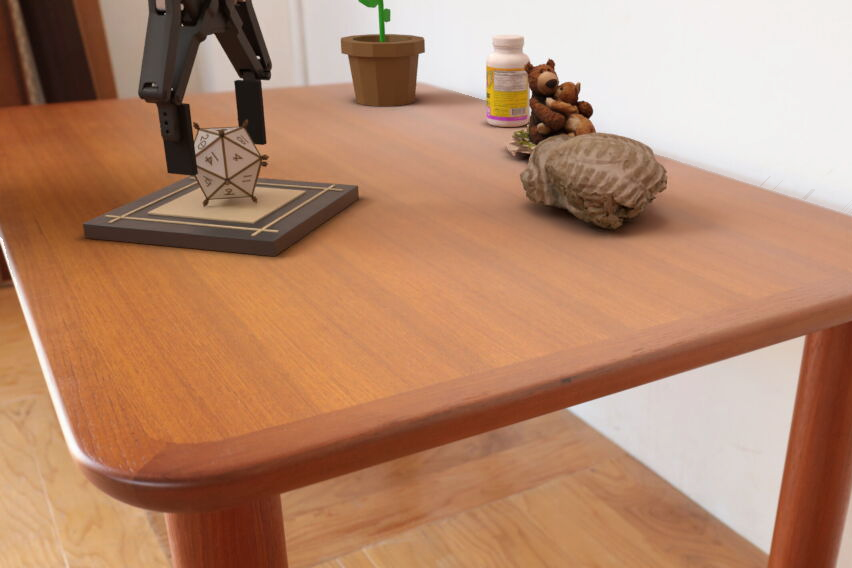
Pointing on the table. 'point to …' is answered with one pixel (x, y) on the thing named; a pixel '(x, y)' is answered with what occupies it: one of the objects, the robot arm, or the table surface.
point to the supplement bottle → (507, 83)
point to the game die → (227, 162)
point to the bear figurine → (551, 110)
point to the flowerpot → (383, 63)
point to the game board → (225, 216)
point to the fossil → (594, 177)
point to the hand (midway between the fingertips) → (220, 157)
